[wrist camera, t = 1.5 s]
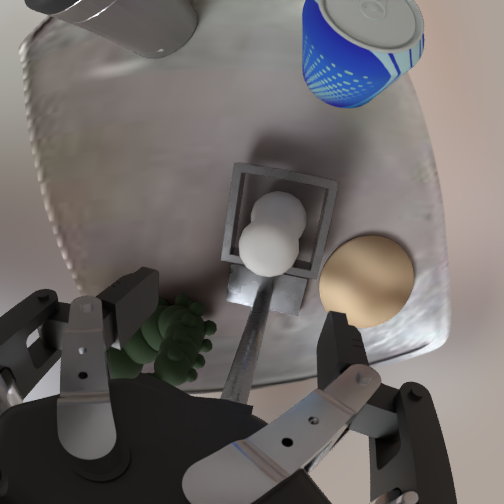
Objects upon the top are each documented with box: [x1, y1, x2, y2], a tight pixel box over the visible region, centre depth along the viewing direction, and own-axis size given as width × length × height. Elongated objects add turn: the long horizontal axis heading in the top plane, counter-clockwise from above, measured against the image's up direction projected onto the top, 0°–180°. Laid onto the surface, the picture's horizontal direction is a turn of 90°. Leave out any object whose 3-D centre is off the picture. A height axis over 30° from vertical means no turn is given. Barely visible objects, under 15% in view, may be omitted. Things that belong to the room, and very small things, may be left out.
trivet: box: [319, 236, 414, 328], centre depth 32 cm, size 12×12×1 cm
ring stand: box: [220, 162, 339, 405], centre depth 22 cm, size 16×10×22 cm, turn 171°
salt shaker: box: [239, 191, 307, 277], centre depth 25 cm, size 6×6×13 cm
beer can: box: [302, 0, 424, 108], centre depth 18 cm, size 8×8×16 cm
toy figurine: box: [108, 294, 217, 386], centre depth 31 cm, size 9×19×25 cm
